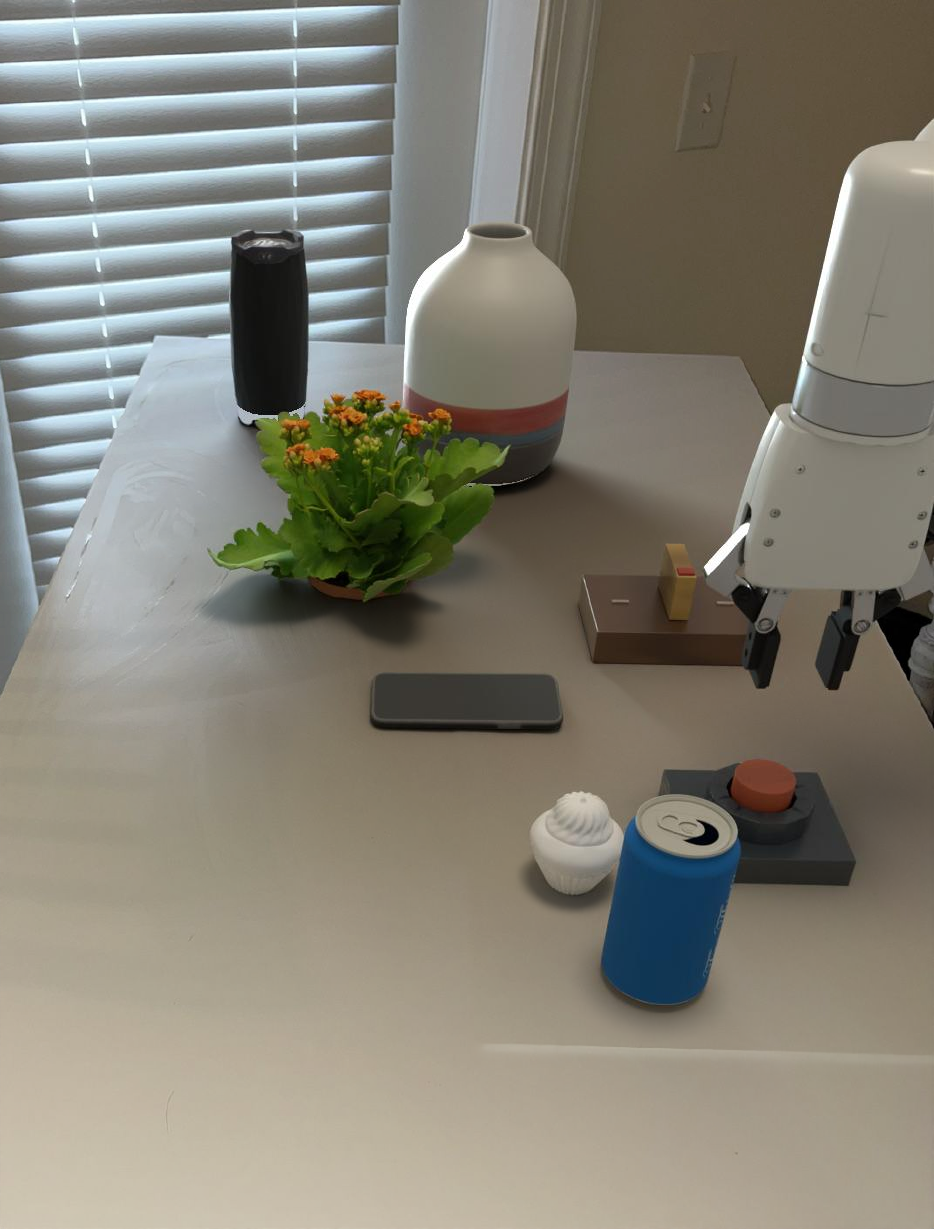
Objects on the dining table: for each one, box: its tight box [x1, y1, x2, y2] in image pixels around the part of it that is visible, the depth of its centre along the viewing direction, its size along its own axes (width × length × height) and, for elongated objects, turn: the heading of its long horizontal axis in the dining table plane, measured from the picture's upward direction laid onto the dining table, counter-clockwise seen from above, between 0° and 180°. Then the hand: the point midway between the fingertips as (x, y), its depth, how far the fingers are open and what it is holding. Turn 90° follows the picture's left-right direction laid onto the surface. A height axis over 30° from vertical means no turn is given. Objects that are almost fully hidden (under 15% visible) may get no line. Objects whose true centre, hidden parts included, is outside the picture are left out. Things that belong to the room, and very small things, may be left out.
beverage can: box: [600, 794, 741, 1006], centre depth 79 cm, size 6×6×12 cm
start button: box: [730, 758, 796, 813], centre depth 91 cm, size 4×4×2 cm
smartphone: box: [369, 671, 564, 730], centre depth 106 cm, size 7×1×15 cm
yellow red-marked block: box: [658, 543, 697, 620], centre depth 112 cm, size 6×2×4 cm, turn 177°
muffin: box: [529, 790, 625, 896], centre depth 88 cm, size 6×6×7 cm
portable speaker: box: [228, 229, 310, 415], centre depth 148 cm, size 9×9×20 cm
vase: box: [402, 221, 578, 484], centre depth 136 cm, size 17×17×24 cm
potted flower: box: [206, 389, 511, 603], centre depth 119 cm, size 25×24×18 cm
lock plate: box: [578, 574, 750, 666], centre depth 114 cm, size 14×10×3 cm
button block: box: [658, 762, 857, 887], centre depth 92 cm, size 11×10×4 cm
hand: (792, 675), depth 85 cm, fingers open, 3 cm apart
